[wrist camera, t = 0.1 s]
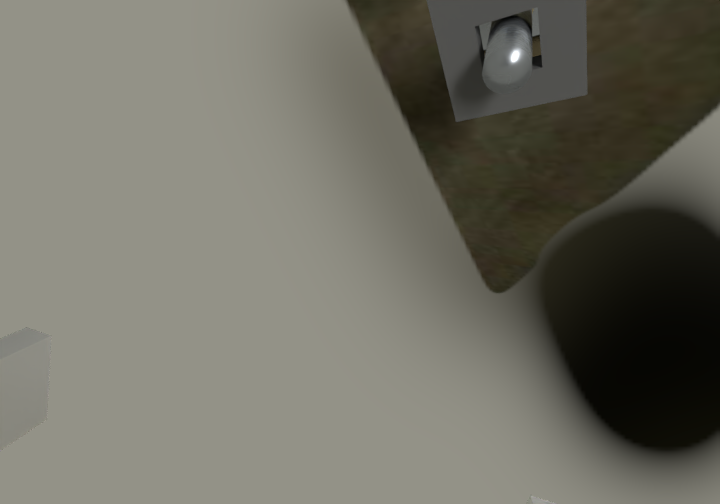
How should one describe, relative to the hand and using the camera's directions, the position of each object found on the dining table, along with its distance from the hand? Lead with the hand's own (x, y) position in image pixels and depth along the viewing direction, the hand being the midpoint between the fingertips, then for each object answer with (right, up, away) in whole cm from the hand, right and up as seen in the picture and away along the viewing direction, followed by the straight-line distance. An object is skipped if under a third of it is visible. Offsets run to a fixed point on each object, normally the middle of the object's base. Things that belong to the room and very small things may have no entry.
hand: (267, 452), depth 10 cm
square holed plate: (+11, +18, +13) cm, 25 cm away
